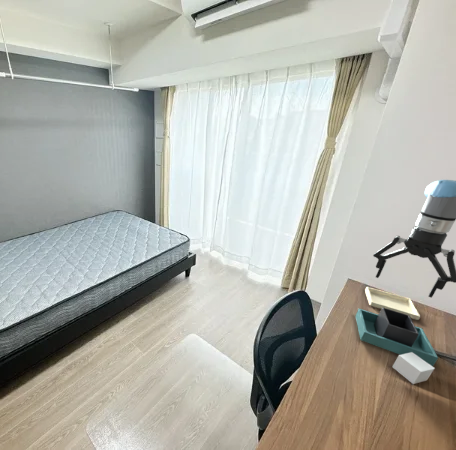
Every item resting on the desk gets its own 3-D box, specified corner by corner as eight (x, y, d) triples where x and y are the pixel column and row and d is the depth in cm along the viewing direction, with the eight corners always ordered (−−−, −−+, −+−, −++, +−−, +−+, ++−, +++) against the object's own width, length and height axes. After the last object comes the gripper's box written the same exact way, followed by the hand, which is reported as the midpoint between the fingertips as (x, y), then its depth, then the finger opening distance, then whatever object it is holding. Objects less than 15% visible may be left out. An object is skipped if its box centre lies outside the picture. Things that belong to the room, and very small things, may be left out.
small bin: (399, 333, 95) (409, 315, 92) (407, 353, 87) (419, 334, 83) (373, 324, 99) (382, 307, 96) (379, 343, 91) (388, 324, 87)
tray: (408, 302, 114) (410, 298, 114) (417, 321, 103) (420, 316, 102) (364, 290, 122) (366, 286, 121) (369, 306, 111) (371, 301, 110)
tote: (417, 337, 95) (422, 328, 93) (432, 367, 82) (438, 357, 81) (354, 316, 104) (358, 308, 102) (359, 341, 92) (364, 331, 90)
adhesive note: (426, 381, 78) (435, 368, 75) (412, 385, 76) (421, 372, 74) (404, 364, 83) (412, 351, 81) (391, 368, 82) (398, 355, 79)
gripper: (377, 220, 83) (356, 272, 91) (495, 247, 66) (455, 310, 73) (382, 216, 88) (361, 266, 96) (493, 240, 70) (456, 300, 78)
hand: (402, 285), depth 85 cm, fingers open, 13 cm apart
